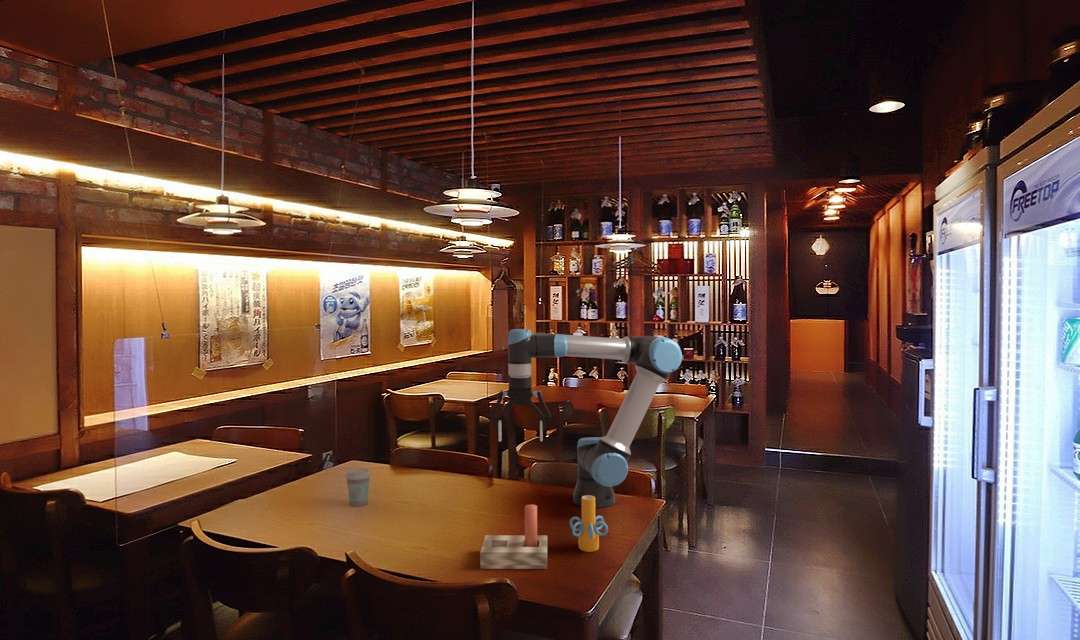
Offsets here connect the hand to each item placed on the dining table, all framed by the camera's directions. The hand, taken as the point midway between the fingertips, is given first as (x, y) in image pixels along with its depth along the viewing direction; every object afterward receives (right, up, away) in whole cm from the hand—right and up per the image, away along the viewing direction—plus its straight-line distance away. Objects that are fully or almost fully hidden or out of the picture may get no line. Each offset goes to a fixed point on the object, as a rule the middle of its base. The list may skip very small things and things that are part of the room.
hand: (520, 440), depth 200 cm
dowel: (+4, -27, -29) cm, 40 cm away
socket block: (-1, -28, -29) cm, 40 cm away
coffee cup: (-59, -27, +20) cm, 68 cm away
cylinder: (+21, -27, -22) cm, 41 cm away
